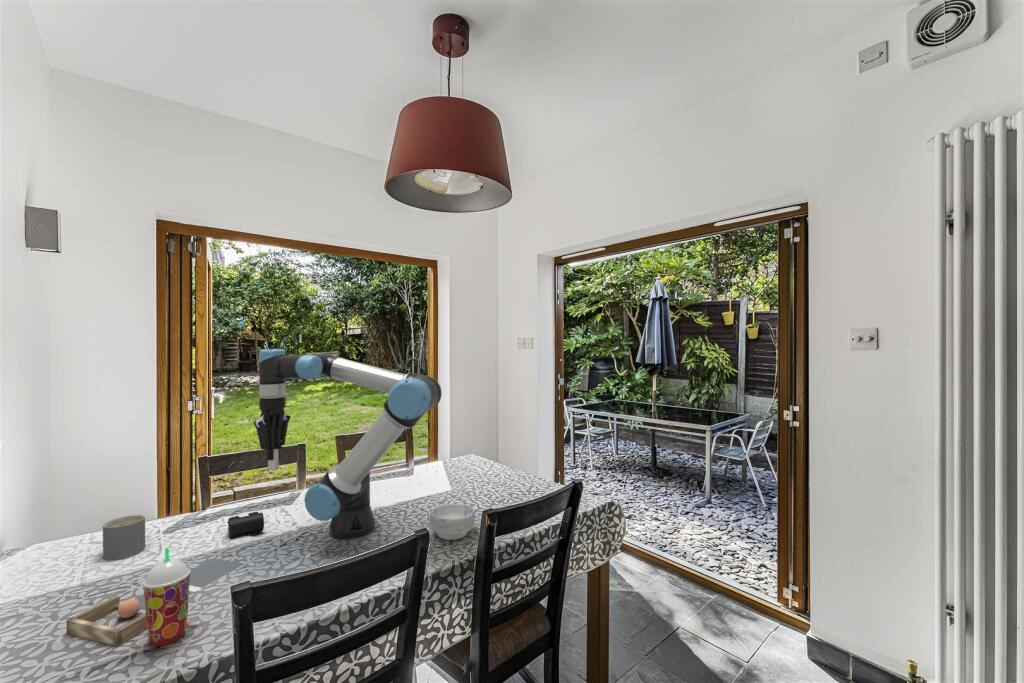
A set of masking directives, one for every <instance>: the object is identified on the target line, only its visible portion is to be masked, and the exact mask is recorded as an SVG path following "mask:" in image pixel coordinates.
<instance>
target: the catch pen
mask: <svg viewBox="0 0 1024 683" xmlns="http://www.w3.org/2000/svg"><path fill="white" fill-rule="evenodd" d="M120 600H121V599H120V595H115V596H112V597H110V598H108V599H107V600H105V601H102V602H101V603H99V604H97V605H95V606H93V607H90V608H87V609H86V610H85V611H82V612H80V613H78V614H76V615H73V616H72V617H70V618H68V619H67V620H66V634H67V633H68V634H67V635H71V634H72V635H71V636H75V635H77V636H76V637H79V636H80V638H83V637H84V638H83V639H87V640H91V641H95V642H98V643H103V644H107V645H110V644H111V645H110V646H114V645H116V646H115V647H118V646H121V643H122V644H123V643H126V640H127V641H128V640H130V639H132V638H133V637H135V636H137V635H138V634H140V633H142V632H143V631H145V630H148V629H147V618H146V614H144V613H143V615H141V616H139V617H137V618H136V619H133V620H132V621H130V622H129V623H127V624H124V625H123V626H120V627H119V628H118V627H112V626H108V625H105V624H101V623H95V622H96V621H98V620H99V619H102V618H104V617H105V616H108V615H109V614H111V613H113V612H115V611H118V608H119V607H118V606H120V605H121V603H120ZM131 637H132V638H131Z"/></svg>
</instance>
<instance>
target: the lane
mask: <svg viewBox="0 0 1024 683" xmlns="http://www.w3.org/2000/svg"><path fill="white" fill-rule="evenodd" d="M243 565H245V563H242V562H238V561H237V562H236V561H230V560H224V559H218V558H214V557H212V558H211V559H209V560H207V561H205V562H203V563H201V564H200V565H197V566H196V567H193V568H192V569H191V568H190V571H191V572H190V583H189V596H191V595H193V594H194V593H196V592H198V591H199V590H202V589H203V588H204V587H206V586H208V585H209V584H212V583H213V582H215V581H217V580H219V579H220V578H222V577H224V576H226V575H227V574H230V573H231V572H233V571H234V570H236V569H238V568H240V567H241V566H243ZM134 599H136V600H138V601H139V603H140V607H139V610H142V611H143V610H144V611H146V607H145V597H144V593H143V594H141V595H139V596H137V597H135V598H134ZM138 613H140V614H142V612H140V611H138ZM144 614H146V612H143V615H144Z"/></svg>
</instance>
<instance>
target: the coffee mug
mask: <svg viewBox="0 0 1024 683" xmlns="http://www.w3.org/2000/svg"><path fill="white" fill-rule="evenodd" d="M145 549H146V516H145V515H142V514H130V515H124V516H120V517H115V518H113V519H111V520H108V521H106V522H104V523H103V524H102V558H103V560H105V561H119V560H123V559H127V558H131V557H134V556H136V555H139V554H140V553H142V552H144V551H145Z"/></svg>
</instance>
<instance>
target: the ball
mask: <svg viewBox="0 0 1024 683" xmlns="http://www.w3.org/2000/svg"><path fill="white" fill-rule="evenodd" d="M118 606H119V608H118V609H117V615H118V616H119V617H120V618H123V619H128V618H131V617H133V616H135V614H137V613H138V612H139V610H140V609H139V607H140V603H139V601H138V600H136V599H135V598H128V599H126V600H124V601H123V602H121V603H120V604H119V605H118Z"/></svg>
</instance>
